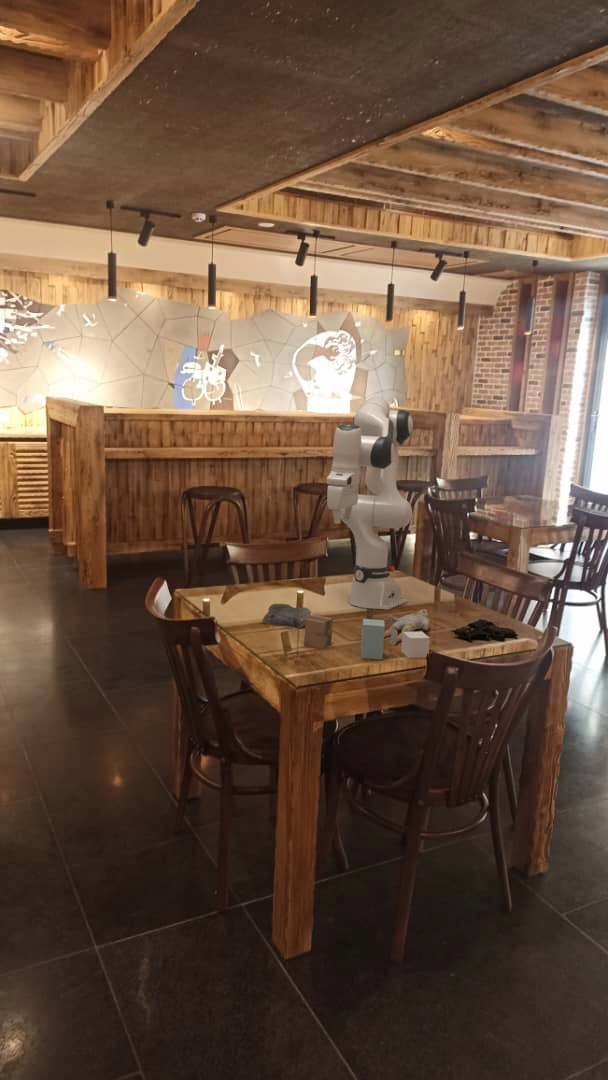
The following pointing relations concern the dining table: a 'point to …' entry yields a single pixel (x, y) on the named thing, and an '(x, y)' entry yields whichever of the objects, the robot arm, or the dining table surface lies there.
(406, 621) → the figurine
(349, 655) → the dining table surface
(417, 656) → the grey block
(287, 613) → the fossil
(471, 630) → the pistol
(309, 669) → the dining table surface
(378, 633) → the teal block
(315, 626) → the walnut block
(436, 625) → the dining table surface
